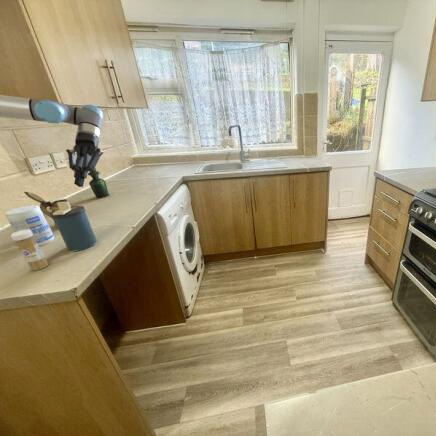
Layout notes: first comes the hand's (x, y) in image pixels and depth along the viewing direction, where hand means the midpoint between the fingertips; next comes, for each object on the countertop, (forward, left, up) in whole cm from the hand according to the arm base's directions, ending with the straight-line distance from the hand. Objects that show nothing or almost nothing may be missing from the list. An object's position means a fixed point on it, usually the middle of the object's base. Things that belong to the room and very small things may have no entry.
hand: (78, 185), depth 97 cm
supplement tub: (-10, -17, -22) cm, 29 cm away
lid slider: (+10, -9, -6) cm, 15 cm away
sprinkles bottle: (+14, -20, -22) cm, 33 cm away
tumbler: (+8, -7, -22) cm, 24 cm away
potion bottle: (-60, +19, -22) cm, 66 cm away
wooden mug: (-26, -7, -22) cm, 35 cm away
